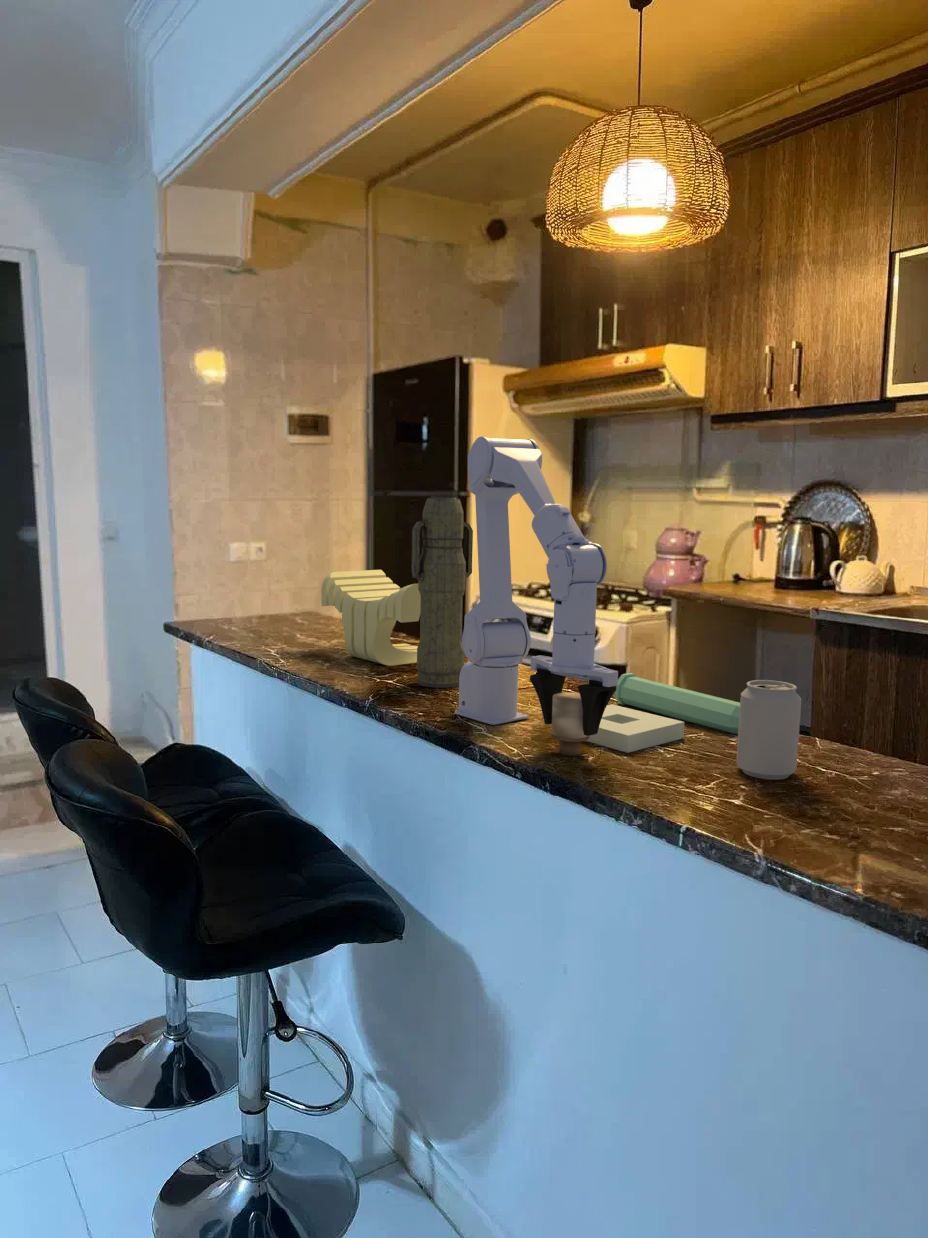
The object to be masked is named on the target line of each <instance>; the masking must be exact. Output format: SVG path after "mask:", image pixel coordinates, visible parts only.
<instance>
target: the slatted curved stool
mask: <svg viewBox="0 0 928 1238" xmlns="http://www.w3.org/2000/svg"><path fill="white" fill-rule="evenodd" d="M320 589H321V592H320V594H321V598H320V599H321V603H320V604H321V607H328V606H329V607H334V609H336V610H337V611H338V613H339V614H341V623H342V627H343V635H344V645H345V650H346V652H347V654H348V655H349V656H351V657H355V658H359V659H362V660H366V661H370V662H373V663H376V664H381V665H385V666H389V667H390V666H399V665H407V664H408V665H409V664H417V648H418V646H417V645H412V644H409V643H396V644H395V643H394V644H393V643H392V641H391V636H392V633H393V630H394V628H395V626H396V623H397V621H398V622H399V623H400V624H401V623H413V622H419V620H420V611H421V595H420V592H419V590H418V583H412V584H409V585H406V586H403V587H400V586H399V585H398V584H396V583H394V582H393V580H392V579H391V578H390V577H388V576H387V575H386V573H385V572H384V571H383V570H382V569H370V570H367V569H365V570H346V571H345V570H343V571H332V572H330V573H329V574H327V575H326V576H325V577H324V579H323V581H322V584H321V588H320Z"/></svg>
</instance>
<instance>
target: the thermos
mask: <svg viewBox="0 0 928 1238" xmlns="http://www.w3.org/2000/svg"><path fill="white" fill-rule="evenodd" d="M421 530H422V531H421ZM421 534H422V536H421ZM473 537H474V530H473V528H472V527H471V525H470V523H468V522H465V521H464V509H463V506H462V501H461V499H460V498H457V496H447V495H445V496H443V495H430V497H428V498H426V501H425V504H424V506H423V510H422V520H419V521H416V522H415V524H414V526H413V527H412V528H411V574H412V575H411V576H412V578H413V579H414V578H415V579H416V580H417V584H418V590H419V592H420V595H421V611H420V617H419V620H420V622H419V623H420V625H419V628H420V629H419V631H420V632H419V643H418V648H417V662H416V671H417V682H416V683H417V685H419V686H422V687H426V688H439V689H440V688H441V689H442V688H443V689H445V688H446V689H447V688H456V687H459V677H460V672H461V669H462V667H463V666H464V664H465V653H464V651H463V647H462V635H463V596H464V595H465V591H466V580H467V579H468V578H469V577H470V576H471V575H472V574H473V544H474V543H473V540H474V538H473ZM421 538H422V540H423V541H422V546H421V548H420V545H421V544H420V543H421ZM463 539H464V540H463ZM463 541H464V543H463ZM463 544H464V545H463ZM420 549H421V552H420ZM420 553H421V554H420Z"/></svg>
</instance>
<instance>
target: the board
mask: <svg viewBox="0 0 928 1238" xmlns="http://www.w3.org/2000/svg"><path fill="white" fill-rule="evenodd" d="M684 735H685V721H684V720H683V721H682V720H680V719H676V718H675V719H674V718H670V717H666V716H661V715H658V714H652V713H649V712H645V711H641V710H636V709H633V708H628V707H623V706H620V705H617V704H607V706H606V708H605V711H604V713H603V716H602V719H601V722H600V725H599V729H598V732H597V734H594V735H590V736H589V739H588V740H585V741H584V742H589V743H592V744H595V745H599V746H603V747H606V748H608V749H609V748H610V749H614V750H617V751H620V752H623V753H626V754H628V753H632V752H636V751H640V750H643V749H648V748H651V747H655V746H659V745H663V744H666V743H671V742H674V741H678V740H683V739H684V738H685V736H684Z"/></svg>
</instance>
